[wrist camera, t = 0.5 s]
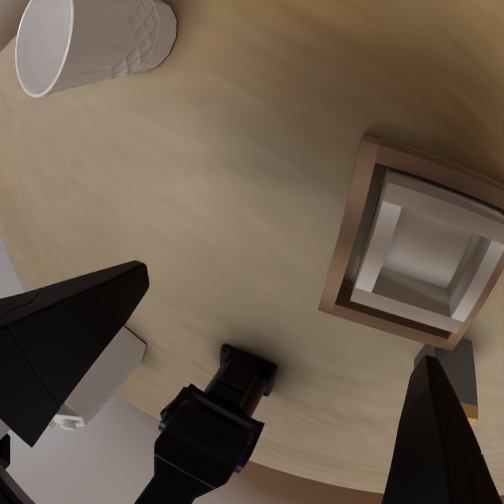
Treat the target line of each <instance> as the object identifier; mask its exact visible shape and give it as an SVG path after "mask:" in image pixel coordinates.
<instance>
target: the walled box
mask: <svg viewBox="0 0 504 504" xmlns="http://www.w3.org/2000/svg"><path fill="white" fill-rule="evenodd" d="M375 163H378V164H382V165H385V166H386V170H385V174H384V178H383V182H382V186H381V190H380V193H379V197H378V201H377V204H376V208H375V212H374V215H373V219H372V222H371V225H370V229H369V232H368V235H367V239H366V242H365V245H364V248H363V251H362V254H361V257H360V262H359V266H358V271H357V275H356V279H355V283H350V282H347V281H344V280H343V277H344V274H345V271H346V268H347V265H348V262H349V258H350V255H351V252H352V248H353V245H354V242H355V238H356V235H357V231H358V228H359V224H360V221H361V217H362V213H363V210H364V206H365V202H366V198H367V194H368V190H369V186H370V182H371V178H372V174H373V170H374V165H375ZM503 268H504V183H502V182H500V181H498V180H496V179H494V178H492V177H489V176H487V175H485V174H482V173H480V172H478V171H475V170H473V169H471V168H468V167H466V166H463V165H461V164H458V163H456V162H453V161H450V160H448V159H445V158H442V157H440V156H437V155H434V154H431V153H428V152H425V151H423V150H420V149H417V148H414V147H410V146H407V145H404V144H401V143H398V142H394V141H391V140H388V139H384V138H381V137H377V136H374V135H370V134H366V133H364V135H363V137H362V139H361V142H360V147H359V152H358V157H357V162H356V166H355V171H354V176H353V180H352V185H351V189H350V193H349V198H348V202H347V206H346V210H345V214H344V218H343V222H342V226H341V230H340V234H339V238H338V242H337V245H336V249H335V253H334V256H333V260H332V264H331V267H330V271H329V274H328V278H327V281H326V284H325V288H324V291H323V294H322V298H321V301H320V304H319V307H318V310H319V311H323V312H326V313H329V314H332V315H335V316H338V317H341V318H344V319H347V320H350V321H353V322H356V323H360V324H363V325H366V326H369V327H372V328H376V329H379V330H382V331H385V332H388V333H392V334H395V335H398V336H402V337H405V338H408V339H412V340H415V341H418V342H422V343H425V344H428V345H432V346H435V347H439V348H442V349H446V350H449V351H453V349H454V348H455V347H456V345H457V344H458V342H459V341H460V340H461V338H462V337H463V335H464V334H465V332H466V331H467V329H468V328H469V326H470V325H471V323H472V322H473V320H474V319H475V317H476V316H477V314H478V312H479V311H480V309H481V308H482V306H483V304H484V303H485V301H486V299H487V298H488V296H489V294H490V292H491V291H492V289H493V287H494V285H495V283H496V282H497V280H498V278H499V276H500V274H501V272H502V270H503Z"/></svg>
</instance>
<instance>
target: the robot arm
mask: <svg viewBox="0 0 504 504" xmlns="http://www.w3.org/2000/svg"><path fill="white" fill-rule="evenodd" d="M148 288H149V277H148V271H147V266H146V264H144V263H142V262H139V261H136V260H134V261H131V262H127V263H124V264H120V265H117V266H113V267H110V268H106V269H103V270H99V271H96V272H92V273H89V274H86V275H82V276H79V277H75V278H72V279H69V280H65V281H62V282H59V283H55V284H52V285H49V286H45V287H44V288H43V287H42V288H39V289H35V290H32V291H29V292H25V293H22V294H18V295H14V296H10V297H6V298H1V299H0V504H35V503H34V502H33V501H32V500H31V499H30V498H29V496H27V494H26V493H25V492H24V491H23V490H22V489H21V488H20V487H19V486H18V484H17V483H16V482H15V481H14V480H13V478H12V477H11V476H10V475H9V474H8V472H7V471H6V470H5V469H6V468H7V467H8V466H9V465H10V436H9V435H8V433H7V432H8V431H9V430H10V429H11V430H12V431H13V432H14V433H16V434H17V435H18V436H19V437H20V438H21V439H22V440H23V441H24V442H26V443H27V444H28V445H29V446H30V447H33V446H34V445H35V443H36V442H37V440H38V439H39V438H40V436H41V435H42V433H43V431H44V430H45V429H46V427H47V426H48V425H49V423H50V422H51V420H52V419H53V418H54V416H55V415H56V413H57V412H58V411H59V409H60V407H61V406H62V405H63V404H64V402H65V401H66V400H67V398H68V397H69V395H70V394H71V393H72V391H73V390H74V389H75V387H76V386H77V385H78V383H79V382H80V381H81V379H82V378H83V377H84V375H85V374H86V373H87V372H88V370H89V369H90V368H91V366H92V365H93V364H94V362H95V361H96V360H97V359H98V357H99V356H100V355H101V353H102V352H103V351H104V350H105V348H106V347H107V346H108V345H109V343H110V342H111V341H112V340H113V338H114V337H115V336H116V335H117V333H118V332H119V331H120V330H121V328H122V327H123V326H124V324H125V323H126V322H127V320H128V319H129V317H130V316H131V314H132V313H133V311H134V310H135V308H136V307H137V305H138V304H139V302H140V301H141V299H142V298H143V296H144V295H145V293H146V292H147V290H148ZM276 371H277V366H276V365H275V364H273V363H270V362H268V361H265V360H262V359H260V358H257V357H255V356H252V355H250V354H247V353H245V352H242V351H240V350H237V349H235V348H232V347H230V346H227V345H222V347H221V356H220V368H219V370H218V371H217V373H216V374H215V376H214V377H213V379H212V380H211V382H210V383H209V385H208V386H207V388H206V389H205V390H204V392H203V391H202V390H200V389H198V388H197V387H195V385H193V384H192V383H191V384H190V385H189V386H188V388H187V387H183V389H182V390H181V391H180V393H179V394H178V395H177V397H176V398H175V399H174V400H173V401H172V402H171V403H169V404H168V405H167V406H166V407H165V408H164V409H163V410H162V411H161V413H160V415H161V421H160V425H159V428H158V429H159V430H160V431H161V434H160V435H159V437H158V438H157V440H156V441H155V445H154V476H153V478H152V479H151V481H150V482H149V484H148V485H147V486H146V488H145V489H144V491H143V492H142V493H141V495H140V496H139V498H138V499H137V500H136V502H135V503H134V504H192V502H193V501H194V499H195V498H197V497H199V496H202V495H204V494H206V493H208V492H210V491H212V490H214V489H216V488H218V487H220V486H222V485H224V484H225V483H227V481H228V480H229V478H230V476H231V475H232V474H233V472H235V473H239V472H240V471H241V470H242V469H243V468H244V466H245V465H246V463H247V462H248V460H249V458H250V456H251V454H252V452H253V450H254V448H255V446H256V443H257V441H258V439H259V436H260V434H261V432H262V429H263V427H264V424H265V423H263V422H261V421H260V422H259V421H257V420H255V419H253V418H251V417H252V415H253V413H254V411H255V409H256V407H257V405H258V403H259V402H260V400H261V398H262V396H263V395H264V396H269V395H270V393H271V389H272V385H273V382H274V378H275V374H276ZM381 504H503V503H502V501H501V499H500V496H499V494H498V492H497V489H496V487H495V485H494V482H493V480H492V478H491V475H490V472H489V470H488V467H487V465H486V462H485V459H484V457H483V455H482V454H481V449H480V447H479V444H478V442H477V439H476V437H475V435H474V432H473V430H472V428H471V425H470V423H469V421H468V418H467V416H466V414H465V412H464V410H463V407H462V405H461V403H460V401H459V399H458V397H457V395H456V393H455V391H454V389H453V386H452V384H451V382H450V380H449V378H448V376H447V374H446V373H445V371H444V369H443V367H442V365H441V363H440V361H439V359H438V358H437V357H435V356H431V355H424V356H423V357H422V358H421V360H420V361H419V363H418V364H417V366H416V367H415V369H414V370H413V372H412V374H411V376H410V380H409V384H408V389H407V393H406V397H405V402H404V406H403V410H402V413H401V417H400V421H399V426H398V431H397V437H396V442H395V448H394V453H393V458H392V463H391V467H390V472H389V476H388V480H387V484H386V488H385V492H384V496H383V500H382V503H381Z"/></svg>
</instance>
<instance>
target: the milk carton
mask: <svg viewBox="0 0 504 504" xmlns="http://www.w3.org/2000/svg"><path fill="white" fill-rule="evenodd" d="M145 348H146V344H145V343H143V342H142V341H141V340H140V339H139V338H137V337H136V336H135V335H134V334H133V333H131V332H130V331H129V330H128V329H127V328H125V327H124V326H123V327H122V328H121V330H120V331H119V332H118V333H117V335H116V336H115V337H114V338H113V340H112V341H111V342H110V343H109V345H108V346H107V347H106V348H105V350H104V351H103V352H102V353H101V355H100V356H99V357H98V359H97V360H96V361H95V362H94V364H93V365H92V366H91V368H90V369H89V370H88V372H87V373H86V374H85V375H84V377H83V378H82V379H81V381H80V382H79V383H78V385H77V386H76V387H75V389H74V390H73V391H72V393H71V394H70V395H69V397H68V398H67V400H66V401H65V402H64V404H63V405H62V406H61V407H60V409H59V411H58V412H57V413H56V415H55V416H54V418H53V419H52V420H51V422H50V423H49V426H50V427H51V428H53V427H54V426H55V425H56V424H61V428H63V429H66V430H75V429H76V427H75V426H83V427H84V426H86V425H87V424H88V423H89V422H90V420H91V419H92V418H93V417H94V416H95V415H96V413H97V412H98V411H99V410H100V409H101V408H102V407H103V406H104V404H105V403H106V402H107V401H108V400H109V399H110V398H111V396H112V395H113V394H114V393H115V392H116V391H117V390H118V388H119V387H120V386H121V385H122V384H123V383H124V382H125V380H126V379H127V378H128V377H129V376H130V375H131V374H132V372H133V371H134V370H135V369H136V368H137V367H138V366H139V365H140V363H141V362H142V358H143V355H144V352H145Z"/></svg>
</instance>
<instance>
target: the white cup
mask: <svg viewBox="0 0 504 504" xmlns="http://www.w3.org/2000/svg"><path fill="white" fill-rule="evenodd" d="M176 25H177V20H176V17H175V15H174V13H173V11H172V9H171V6H169V5H168V4H166V3H164V2H163V1H161V0H31V1H30V2H29V4H28V6H27V7H26V9H25V11H24V14H23V16H22V19H21V22H20V25H19V29H18V33H17V39H16V47H15V63H16V70H17V75H18V79H19V81H20V84H21V86H22V88H23V89H24V91H25V92H26V93H27V94H28V95H30V96H31V97H35V98H38V97H42V96H45V95H49V94H52V93H55V92H59V91H63V90H66V89H70V88H74V87H79V86H83V85H87V84H92V83H96V82H101V81H104V80H108V79H114V78H118V77H122V76H125V75H131V74H139V73H144V72H146V71H149V70H151V69H154V68H156V67H158V66H159V65H160V63H161V62H162V61H163V60H164V59H165V58H166V57H167V56H168V55H169V53H170V51H171V48H172V46H173V44H174V41H175V39H176Z"/></svg>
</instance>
